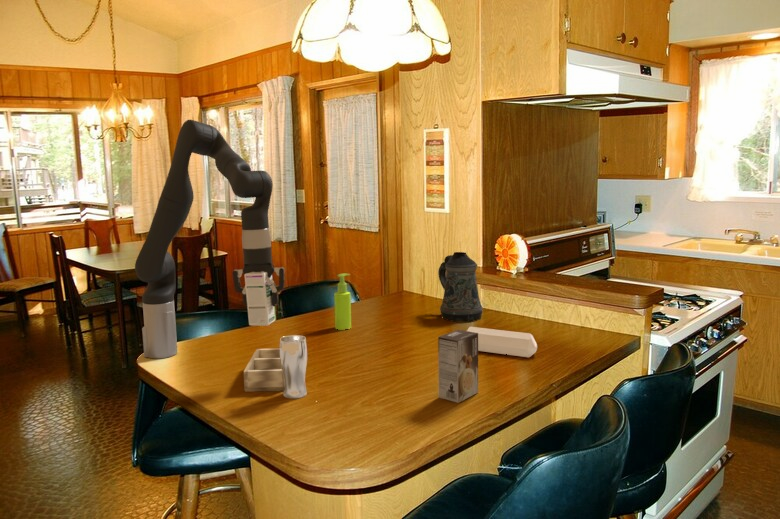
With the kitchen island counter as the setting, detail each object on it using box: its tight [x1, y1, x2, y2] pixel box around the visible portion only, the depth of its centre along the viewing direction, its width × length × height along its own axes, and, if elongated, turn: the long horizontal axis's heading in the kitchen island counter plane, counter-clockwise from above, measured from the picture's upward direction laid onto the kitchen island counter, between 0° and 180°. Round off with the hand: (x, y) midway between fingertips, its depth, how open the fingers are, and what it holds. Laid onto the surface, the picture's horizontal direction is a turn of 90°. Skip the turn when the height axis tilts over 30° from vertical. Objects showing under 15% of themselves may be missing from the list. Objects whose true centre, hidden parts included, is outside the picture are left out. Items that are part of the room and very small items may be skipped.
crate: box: [243, 347, 284, 393], centre depth 169 cm, size 11×20×6 cm, turn 3°
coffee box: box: [437, 329, 479, 404], centre depth 153 cm, size 9×6×16 cm
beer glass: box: [279, 334, 308, 400], centre depth 155 cm, size 7×7×15 cm
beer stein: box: [437, 251, 484, 322], centre depth 234 cm, size 16×19×25 cm
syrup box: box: [243, 272, 277, 327], centre depth 164 cm, size 6×6×14 cm
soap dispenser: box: [333, 272, 352, 331], centre depth 220 cm, size 6×7×20 cm
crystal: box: [466, 326, 538, 358], centre depth 191 cm, size 7×7×24 cm
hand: (261, 306), depth 165 cm, fingers closed on syrup box, 6 cm apart
